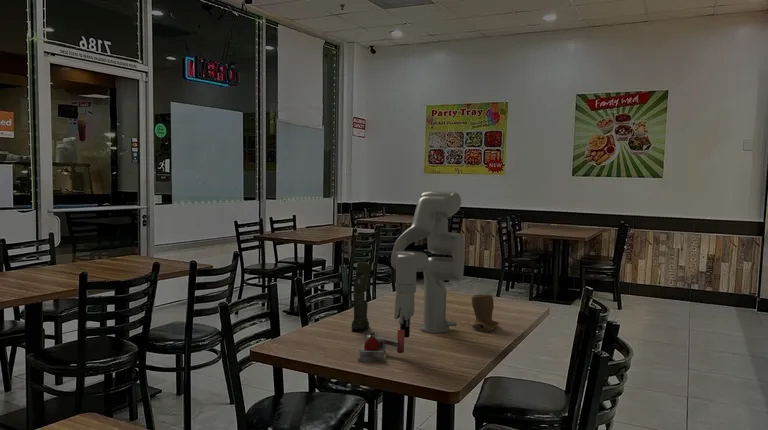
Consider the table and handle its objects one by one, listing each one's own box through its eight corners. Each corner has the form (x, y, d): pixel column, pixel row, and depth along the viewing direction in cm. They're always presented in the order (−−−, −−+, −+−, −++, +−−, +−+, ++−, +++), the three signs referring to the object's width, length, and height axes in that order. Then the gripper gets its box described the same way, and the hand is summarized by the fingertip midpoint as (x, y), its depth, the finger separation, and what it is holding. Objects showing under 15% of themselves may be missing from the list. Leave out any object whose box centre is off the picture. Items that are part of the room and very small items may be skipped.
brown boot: (475, 322, 261) (476, 290, 260) (500, 326, 256) (501, 293, 255) (465, 330, 247) (466, 296, 246) (492, 334, 242) (493, 299, 241)
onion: (363, 354, 210) (363, 333, 210) (379, 354, 211) (379, 332, 210) (364, 359, 205) (364, 337, 204) (380, 359, 205) (380, 337, 205)
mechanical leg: (363, 332, 236) (368, 260, 241) (346, 331, 238) (352, 260, 243) (370, 332, 250) (375, 264, 255) (354, 331, 251) (359, 263, 256)
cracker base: (384, 347, 219) (385, 330, 219) (385, 361, 202) (386, 343, 202) (358, 347, 219) (359, 330, 219) (357, 361, 202) (357, 342, 202)
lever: (363, 345, 215) (364, 323, 215) (370, 343, 219) (371, 321, 218) (400, 354, 206) (400, 331, 205) (406, 351, 209) (407, 328, 209)
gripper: (402, 283, 218) (401, 330, 220) (389, 290, 204) (388, 340, 206) (421, 285, 216) (420, 332, 217) (409, 292, 202) (408, 343, 203)
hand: (404, 336), depth 211 cm, fingers closed
